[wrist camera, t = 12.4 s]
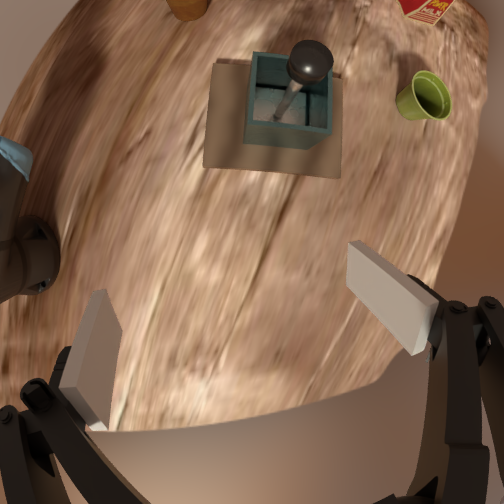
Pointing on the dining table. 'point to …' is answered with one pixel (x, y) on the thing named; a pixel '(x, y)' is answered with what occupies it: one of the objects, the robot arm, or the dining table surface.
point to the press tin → (282, 134)
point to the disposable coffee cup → (188, 9)
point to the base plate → (258, 156)
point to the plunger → (294, 84)
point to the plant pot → (425, 98)
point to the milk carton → (424, 10)
